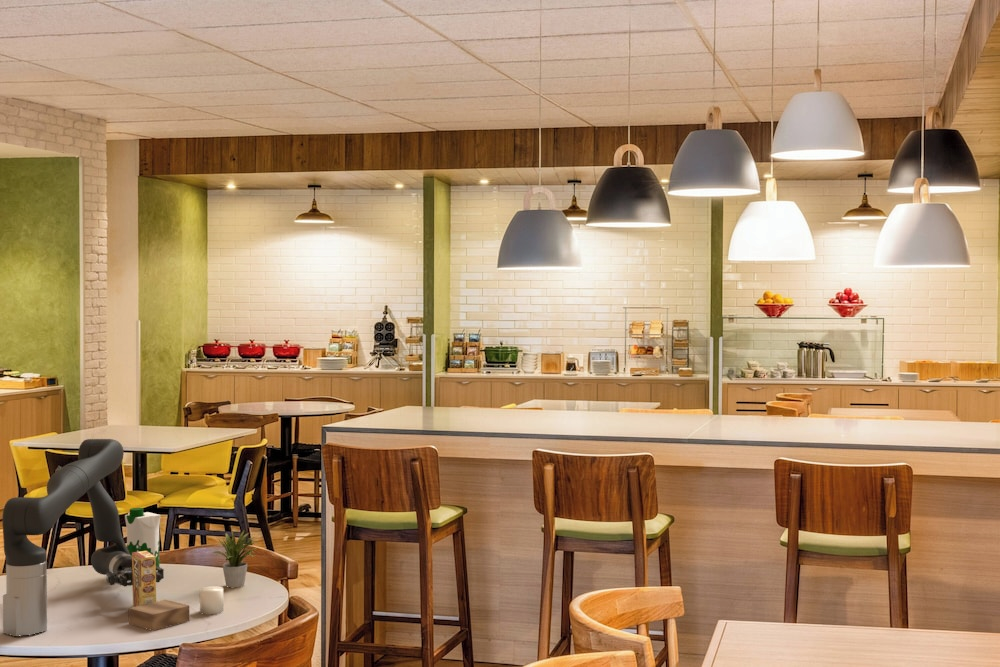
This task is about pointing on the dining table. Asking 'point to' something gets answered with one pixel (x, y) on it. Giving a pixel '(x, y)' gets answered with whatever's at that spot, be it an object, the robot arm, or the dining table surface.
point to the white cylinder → (211, 600)
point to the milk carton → (143, 532)
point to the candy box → (143, 578)
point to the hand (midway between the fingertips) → (142, 580)
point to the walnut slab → (158, 614)
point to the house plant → (235, 559)
